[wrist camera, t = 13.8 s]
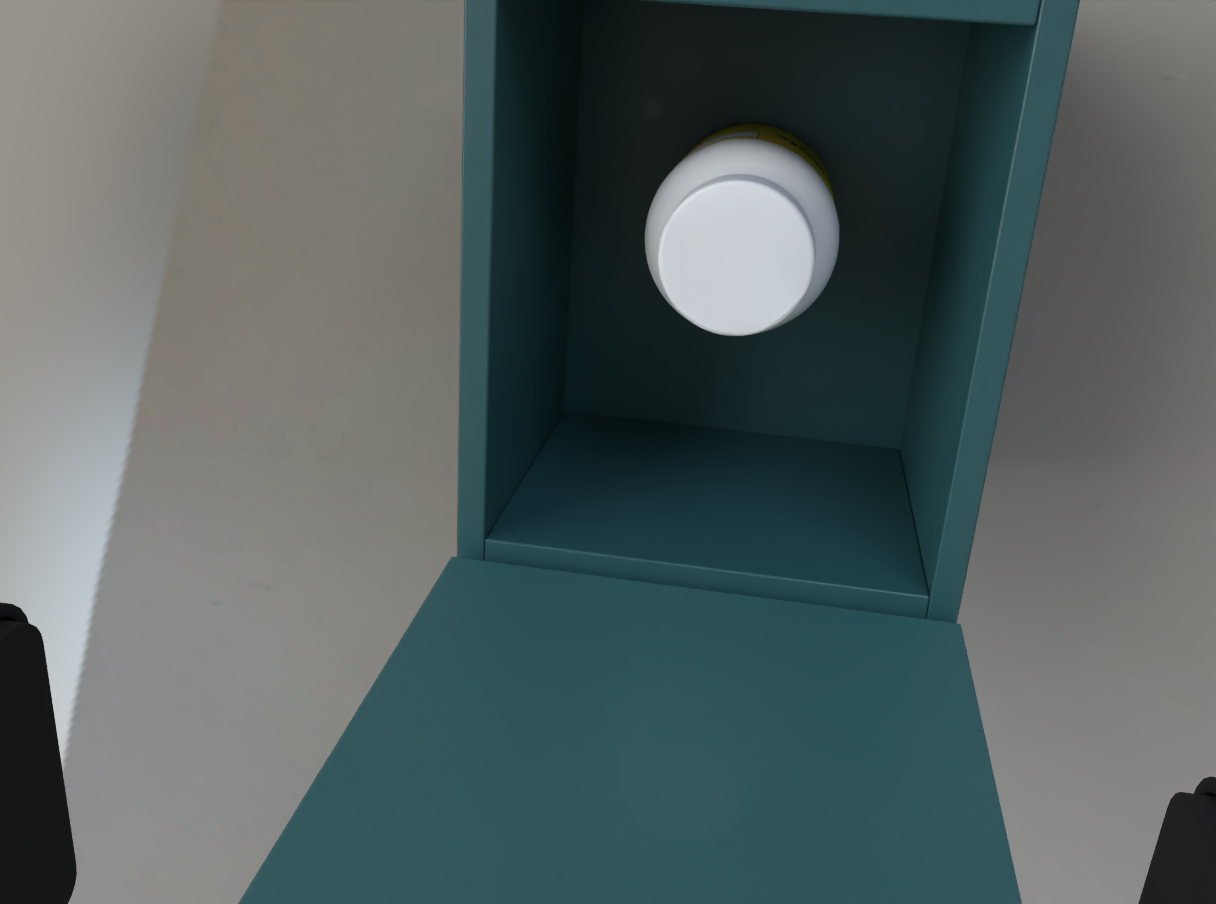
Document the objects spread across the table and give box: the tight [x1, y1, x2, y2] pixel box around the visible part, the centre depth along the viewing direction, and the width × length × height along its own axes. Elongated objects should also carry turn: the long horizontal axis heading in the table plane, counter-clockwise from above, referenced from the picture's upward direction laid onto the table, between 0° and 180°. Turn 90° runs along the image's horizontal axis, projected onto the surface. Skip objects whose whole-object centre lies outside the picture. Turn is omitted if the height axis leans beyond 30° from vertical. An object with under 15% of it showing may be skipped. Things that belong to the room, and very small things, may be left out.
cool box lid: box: [238, 557, 1022, 904], centre depth 23 cm, size 16×14×1 cm
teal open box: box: [457, 0, 1080, 623], centre depth 34 cm, size 16×14×12 cm
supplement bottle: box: [645, 123, 840, 336], centre depth 33 cm, size 5×5×10 cm
